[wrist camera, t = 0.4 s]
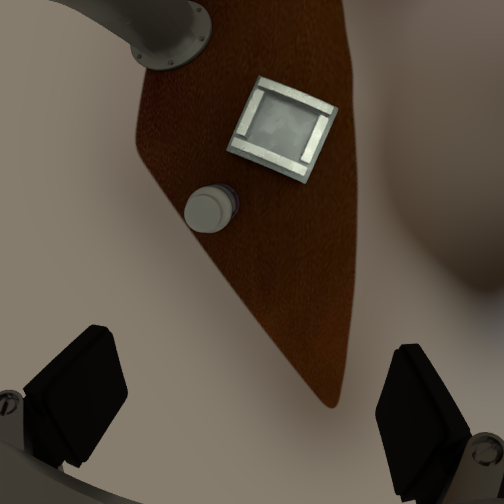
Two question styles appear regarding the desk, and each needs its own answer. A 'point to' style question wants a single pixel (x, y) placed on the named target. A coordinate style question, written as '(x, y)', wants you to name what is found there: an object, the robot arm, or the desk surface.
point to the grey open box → (282, 129)
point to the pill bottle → (211, 208)
